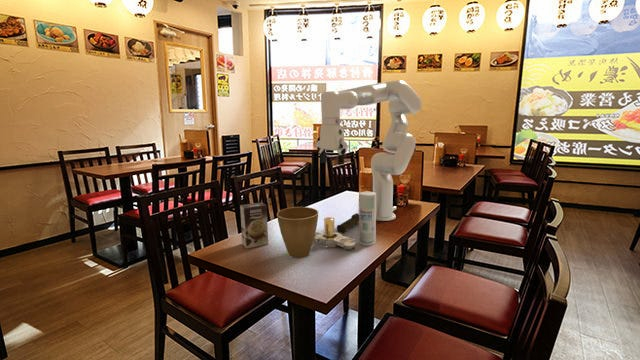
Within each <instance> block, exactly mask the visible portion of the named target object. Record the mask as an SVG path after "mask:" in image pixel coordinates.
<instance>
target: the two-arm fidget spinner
mask: <svg viewBox="0 0 640 360" xmlns="http://www.w3.org/2000/svg"><path fill="white" fill-rule="evenodd" d="M334 234H335V238H325V237H324V232H319V231H316V233H315V237H314V241H313V243H317V242H318V246H321V247H323V248H336V246H337V247H341V250H343V251H353V250H354V249H355V247H356V244H357V240H356V239H354V238H351V237H349V236H344V235H342V233H338V232H337V231H334ZM326 246H327V247H326Z"/></svg>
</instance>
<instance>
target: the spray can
mask: <svg viewBox="0 0 640 360" xmlns="http://www.w3.org/2000/svg"><path fill="white" fill-rule="evenodd" d="M358 193H359V194H358V197H359V198H358V201H359V202H358V203H359V204H358V209H359V210H358V212H359V213H358V214H359V223H358V225H359V227H358V229H359V244H361V245H363V246H374V245H375V244H376V237H377V235H376V233H377V232H376V229H377V227H376V226H377V220H376V193H375V192H373V191H370V190H369V191H366V190H365V191H360V192H358Z"/></svg>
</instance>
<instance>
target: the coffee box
mask: <svg viewBox="0 0 640 360" xmlns="http://www.w3.org/2000/svg"><path fill="white" fill-rule="evenodd" d="M239 206H240V207H239V209H240V222H241V223H240V226H241V243H242V246H244V247H245V249H251V248H256V247H261V246H262V247H263V246H266V245H269V233H268V229H269V228H268V210H267V208H268V207H267V205H266V204H265V203H264V202H254V203H253V202H252V203H247V204H240V205H239Z"/></svg>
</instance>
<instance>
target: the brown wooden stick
mask: <svg viewBox="0 0 640 360" xmlns="http://www.w3.org/2000/svg"><path fill="white" fill-rule="evenodd" d="M357 225H359V213H354V214H352V215H351V217H350V218H349V219H347V220H345V221H344V222H342V223H340V224H337V225H336V232H337V233H338V232H339V233H340V234H345V233H346V231H348V230H349V229H351V228H352V227H353V226H357Z"/></svg>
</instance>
